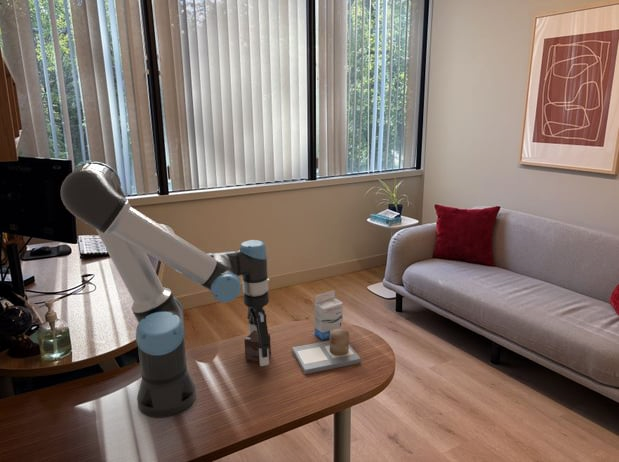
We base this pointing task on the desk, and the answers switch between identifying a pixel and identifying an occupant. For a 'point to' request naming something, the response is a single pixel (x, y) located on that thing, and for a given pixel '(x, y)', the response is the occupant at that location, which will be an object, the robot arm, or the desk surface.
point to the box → (253, 347)
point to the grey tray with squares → (322, 357)
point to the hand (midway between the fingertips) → (259, 353)
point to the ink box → (327, 314)
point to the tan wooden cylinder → (339, 342)
